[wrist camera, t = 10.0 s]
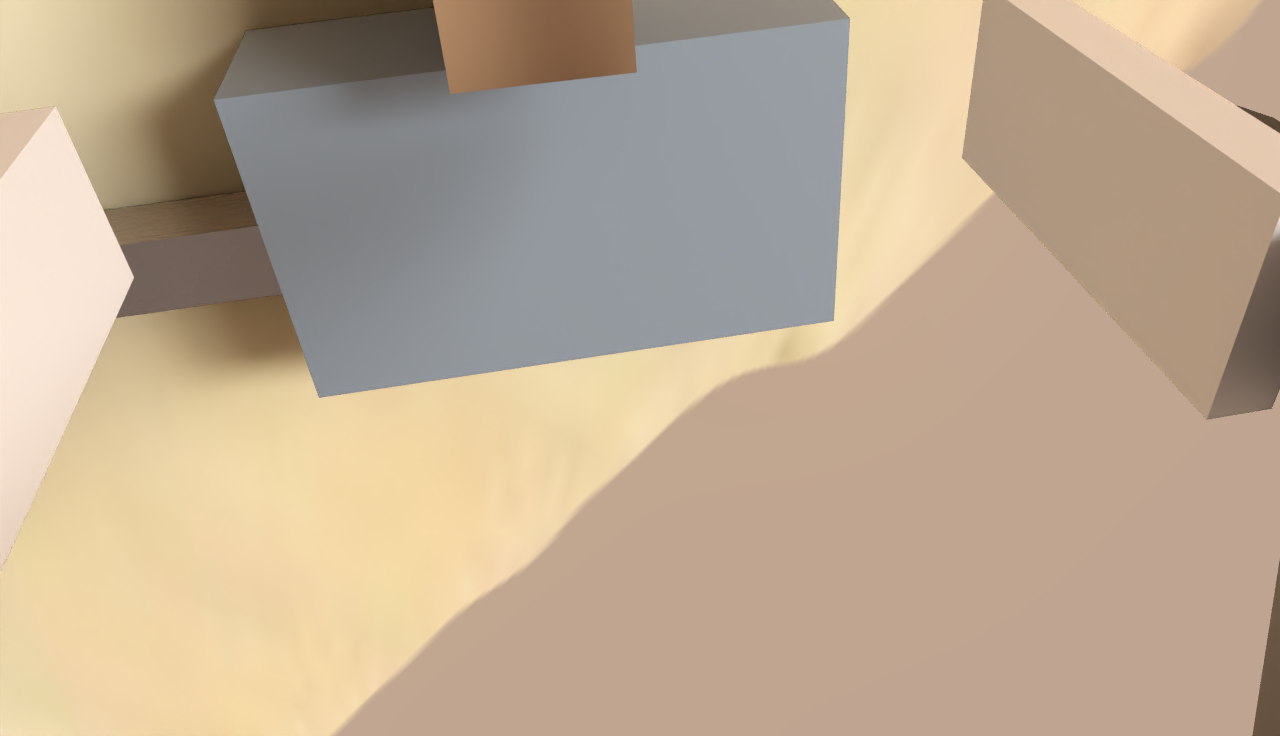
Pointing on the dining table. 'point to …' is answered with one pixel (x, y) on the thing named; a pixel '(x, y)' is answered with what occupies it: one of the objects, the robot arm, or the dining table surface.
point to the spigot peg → (533, 41)
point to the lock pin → (192, 253)
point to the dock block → (542, 190)
